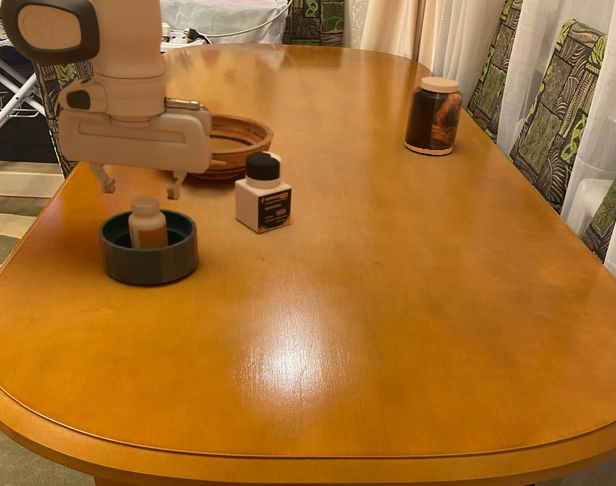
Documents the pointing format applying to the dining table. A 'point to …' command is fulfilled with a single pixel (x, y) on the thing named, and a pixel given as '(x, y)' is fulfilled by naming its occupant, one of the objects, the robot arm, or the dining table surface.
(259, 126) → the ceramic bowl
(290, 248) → the dining table surface
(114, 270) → the teal bowl
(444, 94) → the jar
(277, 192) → the medicine bottle
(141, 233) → the supplement bottle
